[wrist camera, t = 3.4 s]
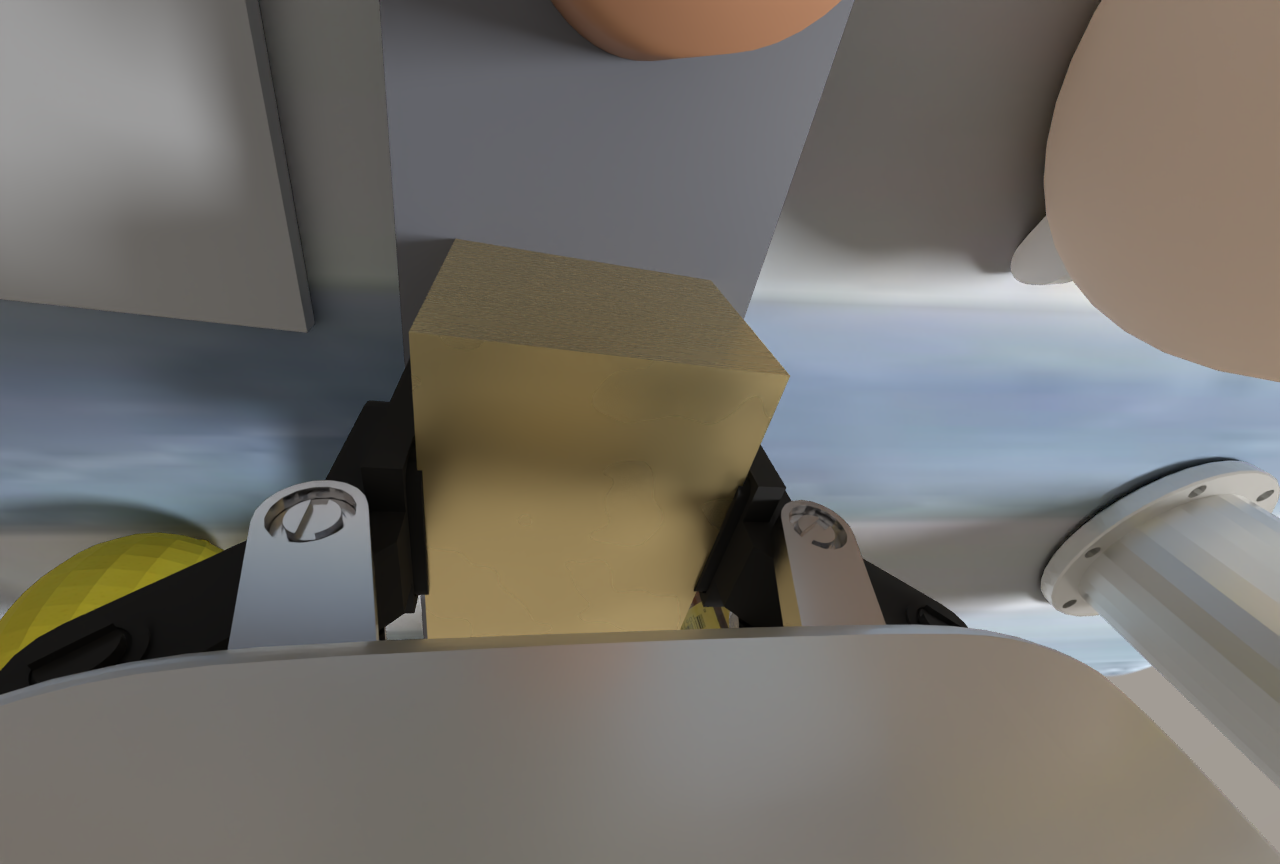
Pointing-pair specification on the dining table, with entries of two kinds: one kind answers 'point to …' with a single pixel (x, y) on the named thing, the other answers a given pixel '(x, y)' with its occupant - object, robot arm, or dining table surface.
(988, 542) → the dining table surface
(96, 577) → the lemon
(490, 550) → the tan rectangular block
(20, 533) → the dining table surface
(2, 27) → the mat
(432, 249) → the plane body
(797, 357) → the dining table surface
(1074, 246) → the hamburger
